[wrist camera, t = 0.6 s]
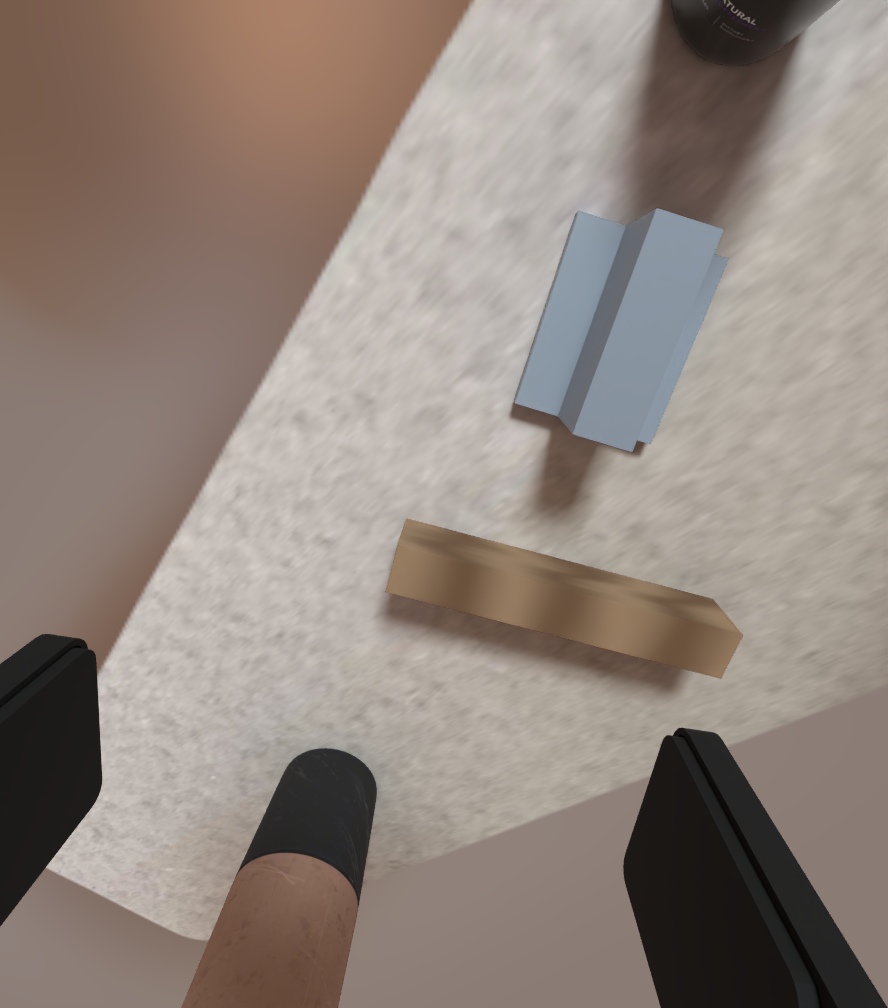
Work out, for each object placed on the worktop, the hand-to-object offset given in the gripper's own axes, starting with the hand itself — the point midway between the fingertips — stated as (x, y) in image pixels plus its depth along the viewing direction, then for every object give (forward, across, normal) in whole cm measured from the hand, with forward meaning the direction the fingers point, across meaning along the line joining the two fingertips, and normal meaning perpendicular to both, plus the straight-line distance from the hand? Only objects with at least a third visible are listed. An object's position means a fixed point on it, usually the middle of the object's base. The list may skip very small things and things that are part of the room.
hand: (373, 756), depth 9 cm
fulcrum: (+25, -8, -8) cm, 28 cm away
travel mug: (+26, +4, +27) cm, 38 cm away
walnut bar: (+26, -8, +8) cm, 28 cm away
